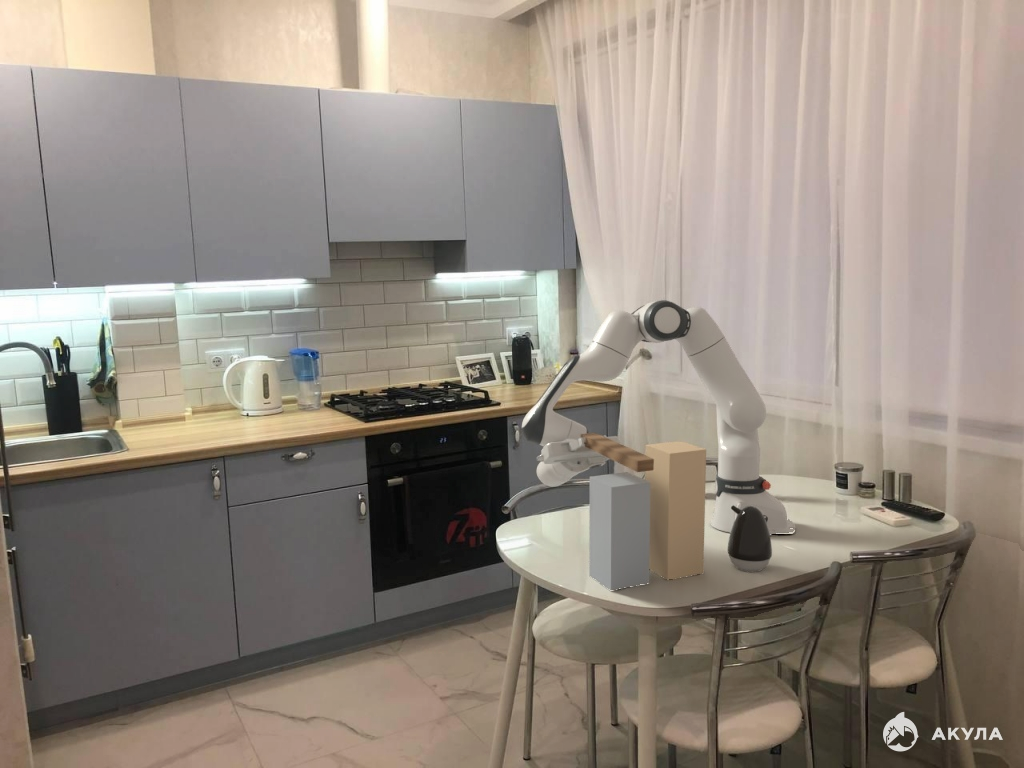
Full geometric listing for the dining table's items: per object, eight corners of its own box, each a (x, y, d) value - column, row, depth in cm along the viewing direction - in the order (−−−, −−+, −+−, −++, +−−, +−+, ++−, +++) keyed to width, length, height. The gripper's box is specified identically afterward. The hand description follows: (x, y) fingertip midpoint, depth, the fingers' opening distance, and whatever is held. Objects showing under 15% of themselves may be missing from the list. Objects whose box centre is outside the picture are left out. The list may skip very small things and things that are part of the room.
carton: (643, 566, 197) (645, 444, 193) (678, 559, 201) (680, 440, 197) (667, 580, 188) (669, 453, 184) (703, 573, 192) (706, 449, 187)
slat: (580, 444, 197) (580, 434, 197) (594, 442, 199) (595, 432, 198) (637, 472, 174) (637, 460, 173) (653, 470, 175) (653, 459, 175)
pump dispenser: (741, 557, 202) (743, 497, 200) (779, 568, 195) (782, 506, 192) (717, 567, 196) (719, 506, 194) (755, 579, 188) (757, 515, 186)
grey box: (589, 576, 191) (589, 476, 188) (626, 569, 195) (627, 471, 192) (610, 591, 182) (611, 487, 179) (648, 584, 186) (650, 482, 183)
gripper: (531, 449, 204) (552, 430, 192) (603, 441, 212) (627, 423, 200) (536, 473, 202) (558, 456, 190) (608, 464, 210) (633, 448, 198)
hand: (594, 439), depth 195 cm, fingers closed on slat, 4 cm apart
